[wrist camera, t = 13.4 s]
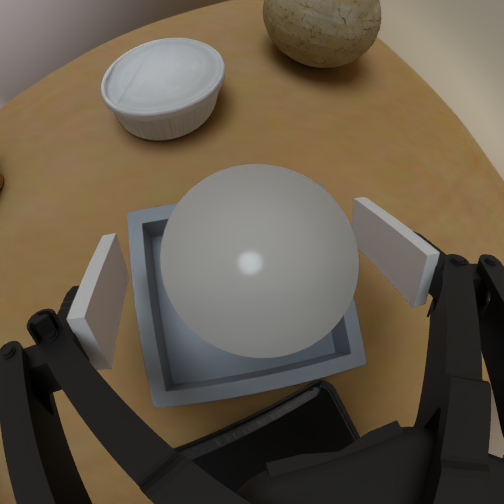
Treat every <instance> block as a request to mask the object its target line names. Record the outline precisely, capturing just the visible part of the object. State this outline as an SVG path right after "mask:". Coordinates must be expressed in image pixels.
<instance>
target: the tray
mask: <svg viewBox="0 0 504 504" xmlns="http://www.w3.org/2000/svg"><path fill="white" fill-rule="evenodd" d="M319 186H321V187H322V188H323V189H324V190H325V188H324V185H323V184H322V185H319ZM177 204H178V203H177ZM177 204H171V205H165V206H159V207H154V208H148V209H143V210H137V211H132V212H127V214H128V233H129V247H130V260H131V271H132V280H133V290H134V298H135V306H136V313H137V320H138V327H139V334H140V340H141V346H142V352H143V357H144V363H145V368H146V373H147V378H148V383H149V388H150V393H151V397H152V402H153V406H154V408H161V407H171V406H180V405H188V404H196V403H203V402H210V401H217V400H223V399H229V398H234V397H240V396H245V395H250V394H255V393H260V392H265V391H270V390H274V389H279V388H283V387H287V386H292V385H296V384H300V383H304V382H308V381H311V380H315V379H319V378H322V377H326V376H330V375H333V374H336V373H340V372H343V371H346V370H350V369H353V368H356V367H359V366H362V365H365V364H367V361H366V356H365V350H364V345H363V340H362V335H361V330H360V325H359V320H358V315H357V311H356V306H355V301H354V297H353V298H352V300H351V303H350V305H349V307H348V309H347V311H346V312H345V314H344V315H343V317H342V318H341V320H340V321H339V322H338V323H337V324H336V326H335V327H334V328H333V329H332V330H331V331H330V332H329V333H328V334H327V335H325V336H324V337H323V338H322V339H320V340H319V341H317V342H316V343H314V344H313V345H311V346H309V347H307V348H305V349H303V350H301V351H298V352H295V353H292V354H289V355H285V356H280V357H273V358H252V357H245V356H240V355H236V354H233V353H229V352H226V351H224V350H222V349H219V348H217V347H215V346H213V345H212V344H210V343H208V342H207V341H205V340H203V339H202V338H201V337H200V336H198V335H197V334H196V333H195V332H193V331H192V330H191V329H190V328H189V327H188V326H187V324H186V323H185V322H184V321H183V320H182V319H181V317H180V316H179V315H178V313H177V312H176V310H175V309H174V307H173V305H172V303H171V301H170V299H169V297H168V295H167V292H166V289H165V286H164V283H163V278H162V273H161V263H160V252H161V243H162V238H163V234H164V230H165V227H166V225H167V222H168V220H169V218H170V216H171V214H172V212H173V210H174V208H175V207H176V206H177Z"/></svg>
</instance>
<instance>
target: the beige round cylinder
mask: <svg viewBox="0 0 504 504" xmlns="http://www.w3.org/2000/svg"><path fill="white" fill-rule="evenodd" d="M160 263H161V273H162V278H163V283H164V286H165V289H166V292H167V295H168V297H169V299H170V301H171V303H172V305H173V307H174V309H175V310H176V312H177V313H178V315H179V316H180V317H181V319H182V320H183V321H184V322H185V323H186V324H187V326H188V327H189V328H190V329H191V330H192V331H193V332H195V333H196V334H197V335H198V336H200V337H201V338H202V339H203V340H205V341H207V342H208V343H210V344H212V345H213V346H215V347H217V348H219V349H222V350H224V351H226V352H229V353H233V354H236V355H240V356H245V357H252V358H273V357H280V356H285V355H289V354H292V353H295V352H298V351H301V350H303V349H305V348H307V347H309V346H311V345H313V344H314V343H316V342H317V341H319V340H320V339H322V338H323V337H324V336H325V335H327V334H328V333H329V332H330V331H331V330H332V329H333V328H334V327H335V326H336V324H337V323H338V322H339V321H340V320H341V318H342V317H343V315H344V314H345V312H346V311H347V309H348V307H349V305H350V303H351V300H352V298H353V295H354V292H355V289H356V285H357V280H358V273H359V256H358V248H357V243H356V238H355V235H354V232H353V230H352V227H351V225H350V223H349V221H348V219H347V217H346V215H345V213H344V212H343V210H342V209H341V207H340V206H339V204H338V203H337V202H336V201H335V200H334V198H333V197H332V196H331V195H330V194H329V193H328V192H327V191H326V190H324V189H323V188H322V187H321V186H319V185H318V184H317V183H315V182H314V181H313V180H311V179H309V178H307V177H306V176H304V175H302V174H300V173H297V172H295V171H293V170H290V169H286V168H283V167H279V166H273V165H266V164H247V165H240V166H234V167H231V168H227V169H224V170H221V171H219V172H217V173H214V174H212V175H210V176H208V177H207V178H205V179H203V180H202V181H200V182H199V183H198V184H196V185H195V186H194V187H193V188H191V189H190V190H189V191H188V192H187V193H186V194H185V195H184V197H183V198H182V199H181V200H180V201H179V203H178V204H177V206H176V207H175V208H174V210H173V212H172V214H171V216H170V218H169V220H168V222H167V225H166V227H165V230H164V234H163V238H162V243H161V252H160Z"/></svg>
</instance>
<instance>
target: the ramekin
mask: <svg viewBox="0 0 504 504" xmlns="http://www.w3.org/2000/svg"><path fill="white" fill-rule="evenodd" d="M224 76H225V65H224V61H223V59H222V57H221V55H220V54H219V53H218V52H217V51H216V50H215V49H214V48H212V47H211V46H209V45H207V44H205V43H203V42H200V41H197V40H193V39H187V38H165V39H159V40H155V41H151V42H148V43H145V44H142V45H140V46H137V47H135V48H133V49H131V50H130V51H128V52H126V53H125V54H123V55H122V56H121V57H119V58H118V59H117V60H116V61H115V62H114V63H113V64H112V65H111V66H110V67H109V69H108V70H107V71H106V73H105V75H104V77H103V79H102V83H101V94H102V98H103V100H104V102H105V104H106V106H107V107H108V108H109V109H110V110H111V111H112V112H113V113H114V114H115V116H116V117H117V118H118V120H119V121H120V122H121V124H122V125H123V126H124V127H125V129H126V130H127V131H129V132H130V133H131V134H133V135H135V136H137V137H140V138H144V139H148V140H170V139H174V138H178V137H181V136H183V135H186V134H188V133H190V132H192V131H194V130H195V129H197V128H198V127H200V126H201V125H202V124H203V123H204V122H205V121H206V120H207V119H208V117H209V116H210V115H211V113H212V111H213V110H214V107H215V105H216V101H217V97H218V93H219V89H220V88H221V86H222V84H223V81H224Z"/></svg>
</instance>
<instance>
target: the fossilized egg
mask: <svg viewBox="0 0 504 504" xmlns="http://www.w3.org/2000/svg"><path fill="white" fill-rule="evenodd" d="M263 18H264V23H265V26H266V29H267V31H268V34H269V36H270V37H271V39H272V40H273V42H274V43H275V44H276V46H277V47H278V48H279V49H280V50H281V51H282V52H283V53H285V54H286V55H287V56H289V57H290V58H292V59H293V60H295V61H297V62H299V63H302V64H304V65H308V66H312V67H319V68H330V67H338V66H342V65H345V64H348V63H350V62H352V61H354V60H356V59H358V58H359V57H360V56H362V55H363V54H364V53H365V52H366V51H367V50H368V49H369V48H370V47H371V46H372V44H373V43H374V41H375V39H376V37H377V34H378V32H379V29H380V24H381V7H380V2H379V0H264V5H263Z"/></svg>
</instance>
